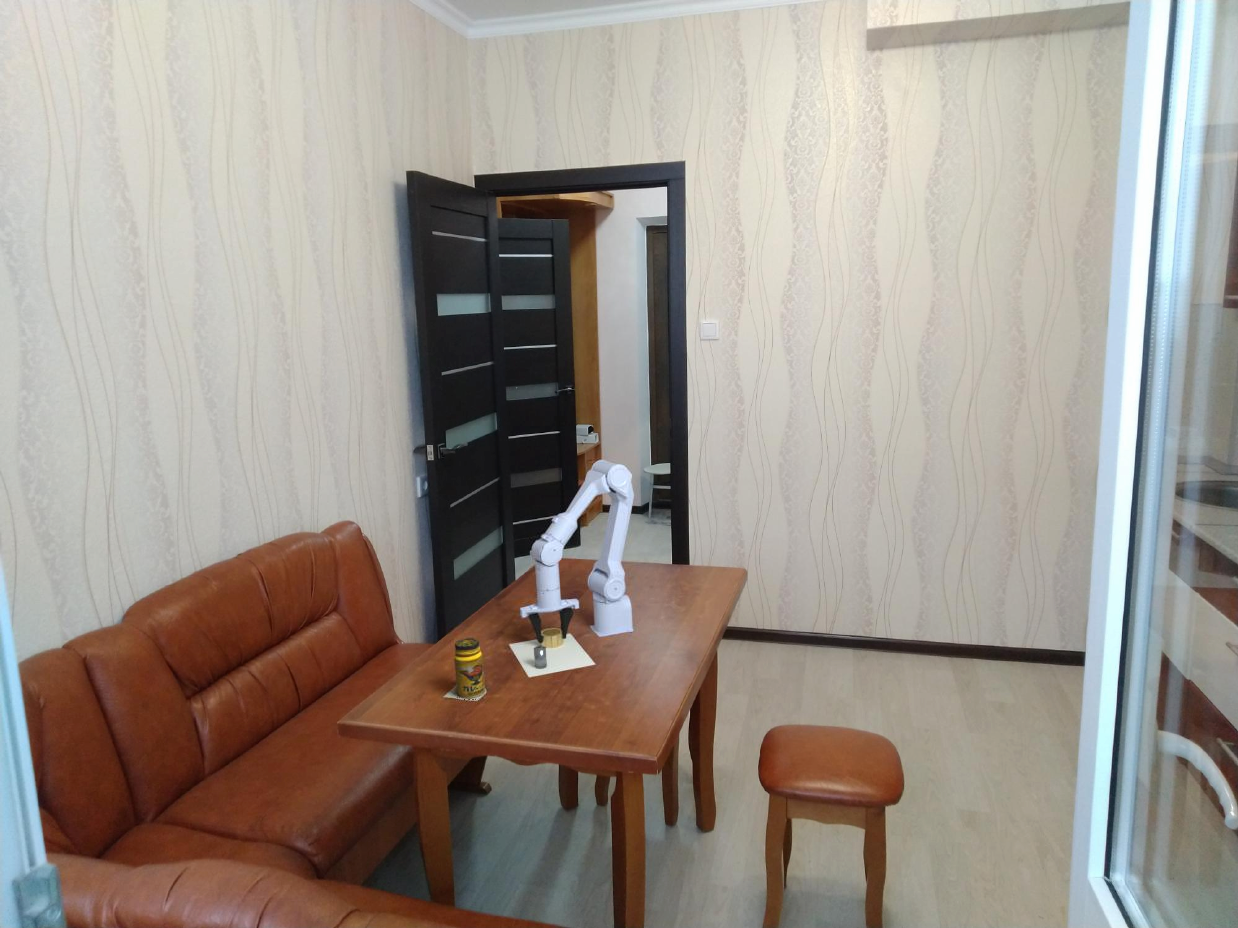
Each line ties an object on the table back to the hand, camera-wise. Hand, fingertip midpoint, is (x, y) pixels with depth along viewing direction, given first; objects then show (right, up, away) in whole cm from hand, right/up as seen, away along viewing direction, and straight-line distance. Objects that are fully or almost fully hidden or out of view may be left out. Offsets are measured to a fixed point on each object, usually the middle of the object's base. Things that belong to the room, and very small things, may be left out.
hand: (551, 639), depth 212 cm
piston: (-1, -4, -13) cm, 14 cm away
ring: (0, -1, 0) cm, 1 cm away
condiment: (-17, -7, -23) cm, 29 cm away
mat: (0, -3, -6) cm, 7 cm away
